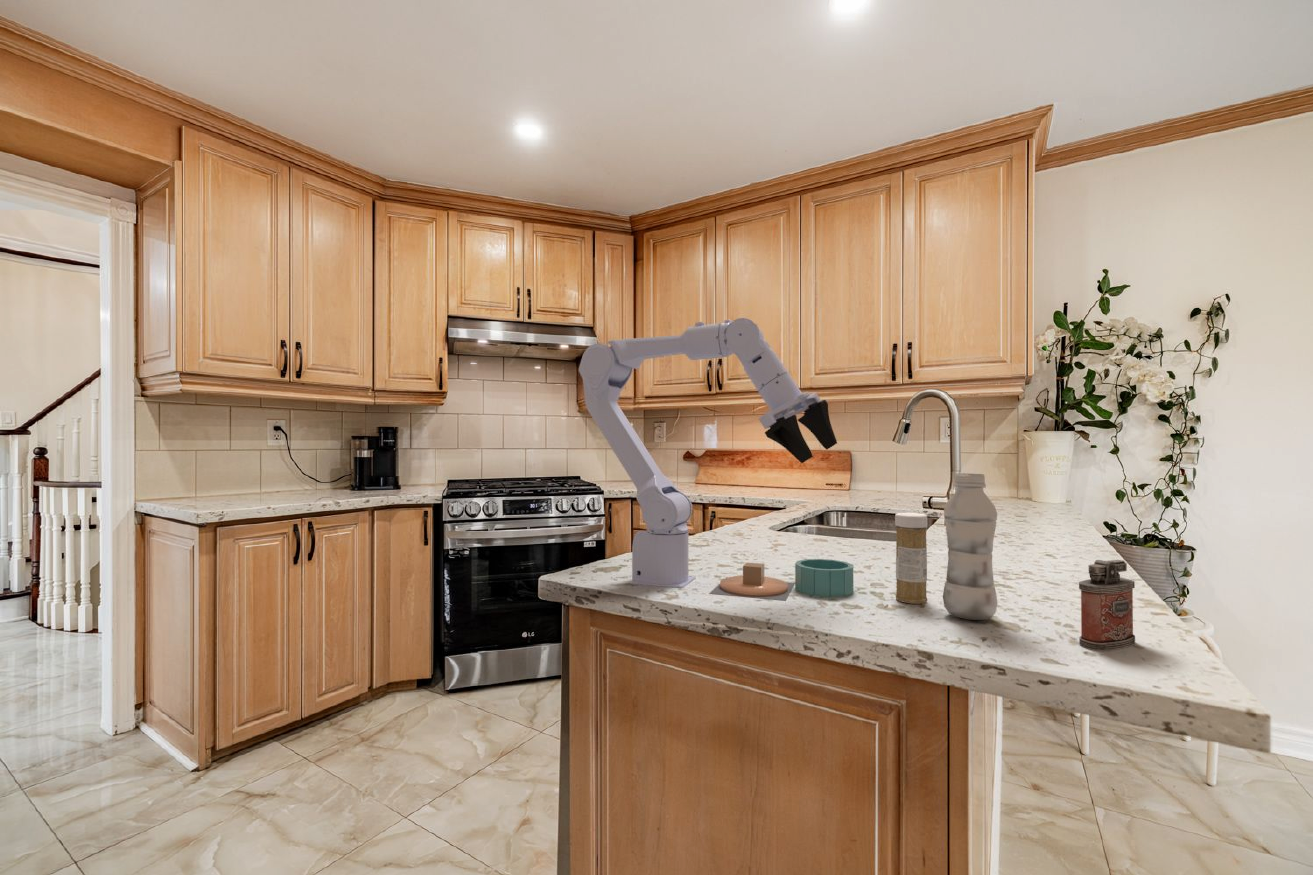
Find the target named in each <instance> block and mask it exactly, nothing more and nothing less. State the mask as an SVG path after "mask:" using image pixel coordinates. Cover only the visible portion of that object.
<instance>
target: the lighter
mask: <svg viewBox="0 0 1313 875" xmlns="http://www.w3.org/2000/svg"><path fill="white" fill-rule="evenodd" d="M1127 564H1128V563H1127V562H1125V560H1122V559H1114V560H1113V559H1112V560H1102V559H1096V560H1095V561H1094V563H1093V564H1088V574H1089V578H1090V579H1089V578H1088V579H1085V580H1082V581H1081V580H1080V581H1079V582H1078V589H1079V590H1080V610H1081V611H1080V612H1081V613H1080V614H1081V615H1080V616H1081V619H1080V622H1081V626H1080V627H1081V628H1080V629H1081V630H1080V631H1081V633H1080V634H1081V636H1079V641H1078V642H1079V644H1078V645H1079V646H1080V647H1082V648H1084V649H1088V650H1092V651H1100V652H1104V651H1105V652H1107V651H1115V650H1121V649H1125V648H1128V647H1129V648H1130V647H1131V646H1133V645H1135V644H1136V635H1135V634H1134V619H1133V618H1134V616H1133V615H1134V614H1133V613H1134V608H1133V607H1134V605H1133V603H1134V600H1133V598H1134V597H1133V596H1134V594H1133V589H1135V586H1136V584H1135V582H1136V581H1135V580H1132V579H1129V578H1122V577H1121V574H1120V573H1123V572H1127V571H1128V570H1127V569H1128V568H1127Z"/></svg>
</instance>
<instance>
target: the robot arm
mask: <svg viewBox="0 0 1313 875" xmlns="http://www.w3.org/2000/svg"><path fill="white" fill-rule="evenodd" d="M605 343H606V344H609V345H610V346H608V345H606V344H604V343H600V342H599V343H598V342H597V343H593V344H591V345H589V346H587V348H586V349H585V351H584V352H583V354H582V357H581V359H580V364H579V366H578V373H579V374H580V377H581V378H582V382H583V383H582V385H583V394H584V403H585V407H586V410H587V411H588V413H589V415H590V416H591V417H592V419H593V421H594V422H595V425H597V428H598V429H599V431H600V432H601V434H602V435H603V437H604V438H605V440H606V441H607V444H609V447H610V448H611V450H612V451H613V453H614V454H615V456H616V458H617V459H618V461H619V462H620V464H621V466H622V467H623V468H624V470H625V472H626V473H627V475H628V476H629V478H630V480H631V481H632V483H633V485H634V487H635V488H636V501H637V502H638V504H639V506H640V508H641V509H640V510H641V514H642V516H641V517H642V519H643V520H642V521H643V522H644V524H645V525H646V528H647V529H646V530H637V531H636V533H635V534H634V537H633V540H632V547H631V548H632V549H631V550H632V551H631V557H632V558H631V560H632V564H631V567H632V571H631V577H632V579H631V580H630V584H633V585H645V586H654V587H663V588H664V587H666V588H676V589H677V588H678V589H684V588H685V587H686V586H688V585H689V584H691V583H692V582H693V581H694V580H696V576H694V575H689V531H690V530H689V527H688V525H687V522H688V521H689V520H690V518H691V517H692V514H693V504H692V501H691V499H690V498H689V497H688V495H687V494H685V493H684V492H682V491H681V490H679V489H678V488H677V487H676V485H675V484H674V482H673V481H672V480H671V479H669V478H668V477H667V476H665V475H664V474H663V473H662V471H661V470H660V467H659V466H658V465H657V463H656V461H655V460H654V459H653V457H652V455H651V454H650V453H649V451H648V449H647V448H646V446H645V445H644V442H642V439H641V438H640V437H639V435H638V434H637V432H636V430H635V429H634V427H633V426H632V424H631V422H630V421H629V419H628V417H627V416H626V415H625V414H624V412H623V410H622V408H621V407H620V405H619V403H618V402H619V399H620V395H621V392H622V391H623V390H624V388H625V386H626V385H627V383H628V381H629V380H630V378H631V376H632V374H633V372H634V371H633V370H634V369H635V370H638V369H640V367H641V365H642V363H644V361H645V360H650V359H657V358H664V357H669V356H671V357H672V356H676V355H677V356H678V355H685V356H687V358H688V359H689V360H691V361H697V360H709V359H718V358H721V359H722V358H727V357H730V356H731V355H733V354H734V355H735V356H736V358H737V359H738V360H739V362H740V364H741V365H742V366H743V370H744V371H745V373H746V375H747V376H748V379H749V380H750V381H751V383H752V384H753V385H754V387H755V388H756V390H757V391H758V394H759V395H760V396H761V398H762V400H763V401H764V403H765V404H766V406H767V407H768V408H769V411H768V412H766V413H764V414H763V415H762V416H760V418H758V420H759V422H760V423H761V426H762V427H763V428H764V430H766V429H767V430H766V431H765V432H764V434H765V436H766V437H767V438H768V439H770V440H772V441H773V442H775V443H777V444H779V445H780V446H781V447H783V448H784V449H786V450H787V451H788V452H789V453H790V454H791V455H792V456H793V457H794V458H796V459H797V460H798V461H799V463H800V464H803V463H806V462H807V461H808V460H810V459H812V458H813V454H812V453H813V452H812V451H811V449H810V447H809V445H808V443H807V441H806V440H805V438H804V436H803V434H802V431H801V429H800V425H799V424H801V425H803V426H804V427H805V428H807V429H808V431H810V433H812V435H813V436H814V437H815V438H816V439H817V441H818V443H820V445H821V446H822V447H823V448H824V449H826V450H830V449H831V448H832V447H834V446H835V445H837V444H838V442H837V438H836V436H835V435H836V434H835V433H834V429H833V426H832V424H831V418H830V413H829V403H828V401H827V400H826V399H822V400H821V398H820V396H819V395H818V394H817V392H813V393H809V391H806V392H805V391H804V392H802V391H801V389H800V387H798V384H797V383H796V382H795V381H794V379H793V377H792V376H791V375H790V372H789V371H788V370H787V368H786V366H785V365H784V364H783V362H782V360H781V359H780V358H779V357H778V355H777V353H776V352H775V351H774V350H773V349H772V348H771V345H770V343H768V341H767V340H765V337H764V334H763V331H762V330H761V328H760V327H759V326H758V324H757V323H755V322H754V321H752V320H751V319H749V318H747V317H746V318H745V317H741V318H740V317H739V318H736V319H733V320H731V319H725V320H724V322H721V323H720V322H718V323H712V324H711V323H710V324H705V323H704V322H703V321H697V322H695V323H694V326H688V327H687V328H686V329H685V331H683V333H682V334H678V335H665V336H664V335H663V336H649V337H635V338H634V337H633V338H623V339H612V340H607V341H606V342H605ZM802 413H803V415H802V416H801V417H799V418H798V419H797V415H799V414H802ZM798 422H799V423H798Z"/></svg>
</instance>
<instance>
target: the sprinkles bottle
mask: <svg viewBox="0 0 1313 875" xmlns="http://www.w3.org/2000/svg"><path fill="white" fill-rule="evenodd" d="M894 522H895V523H894V525H895V529H896V532H895V533H896V537H895V538H896V539H895V540H896V546H895V548H896V549H895V550H896V557H895V580H896V590H895V592H896V594H895V599H896V600H897V601H898V602H902V603H906V604H910V605H911V604H912V605H920V604H921V605H922V604H925V603H927V602H928V597H927V581H928V553H927V552H928V551H927V550H928V548H927V530H928V515H926V514H924V513H919V512H897V513H895V516H894Z"/></svg>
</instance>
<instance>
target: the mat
mask: <svg viewBox="0 0 1313 875" xmlns="http://www.w3.org/2000/svg"><path fill="white" fill-rule="evenodd" d="M725 578H728V576H727V577H725ZM785 582H786V583H787V584H788V591H787V592H786V593H784V594H781V595H775V596H764V597H756V596H743V595H736V594H732V593H728V592H725V591H723V590H722V589H721V588H720V583H719V584H718V585H716V586H715V587H714V588H713V589H712V590H711V591H710V592H709V593H708V594H709V595H717V596H726V597H727V596H728V597H729V596H730V597H739V598H751V599H760V600H761V599H762V600H772V601H784V602H786V601H787V599H788V597H789V596H790V594H791V592H792V591H793V588H794V586H795V582H789V581H785Z"/></svg>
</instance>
